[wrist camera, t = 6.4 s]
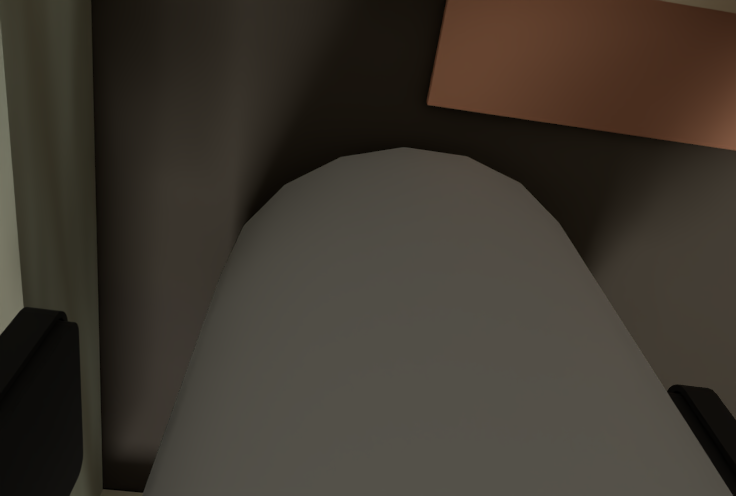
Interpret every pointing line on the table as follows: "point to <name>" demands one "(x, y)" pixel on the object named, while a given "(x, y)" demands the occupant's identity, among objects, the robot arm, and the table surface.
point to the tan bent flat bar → (447, 89)
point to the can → (418, 352)
